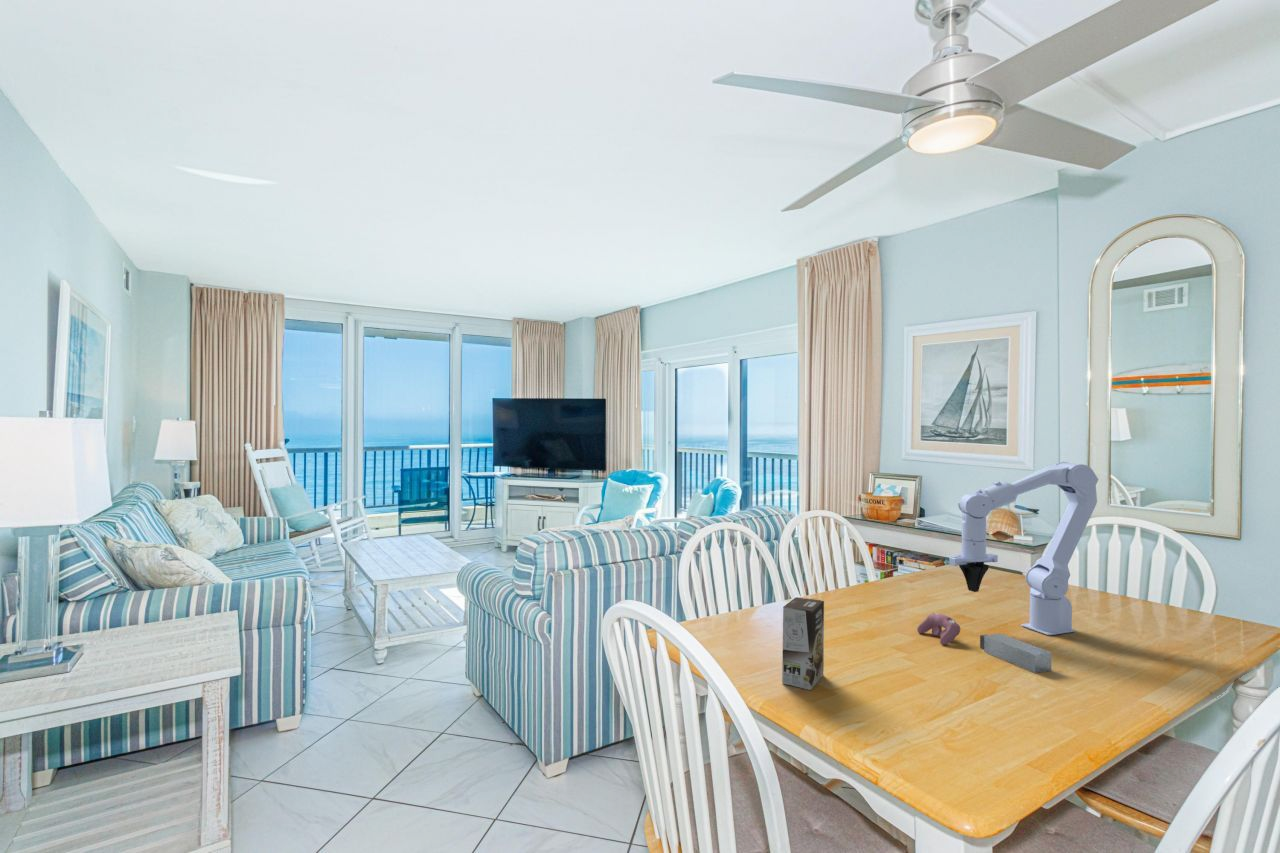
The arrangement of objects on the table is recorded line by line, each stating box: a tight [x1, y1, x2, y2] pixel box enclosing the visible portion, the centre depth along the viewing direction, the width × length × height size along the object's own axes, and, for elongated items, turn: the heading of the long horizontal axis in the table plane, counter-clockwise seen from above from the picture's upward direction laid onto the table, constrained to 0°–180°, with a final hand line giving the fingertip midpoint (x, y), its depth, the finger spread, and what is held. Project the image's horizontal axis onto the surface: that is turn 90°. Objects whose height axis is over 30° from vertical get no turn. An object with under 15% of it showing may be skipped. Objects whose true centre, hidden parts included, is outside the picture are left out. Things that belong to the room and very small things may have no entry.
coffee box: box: [781, 597, 825, 691], centre depth 131 cm, size 9×6×16 cm
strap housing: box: [983, 632, 1052, 674], centre depth 142 cm, size 5×13×4 cm, turn 19°
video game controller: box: [916, 612, 961, 646], centre depth 157 cm, size 10×5×7 cm, turn 14°
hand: (973, 590), depth 165 cm, fingers closed
